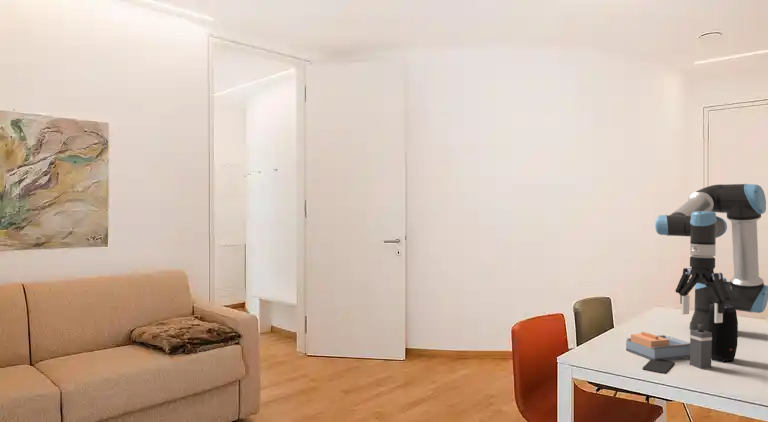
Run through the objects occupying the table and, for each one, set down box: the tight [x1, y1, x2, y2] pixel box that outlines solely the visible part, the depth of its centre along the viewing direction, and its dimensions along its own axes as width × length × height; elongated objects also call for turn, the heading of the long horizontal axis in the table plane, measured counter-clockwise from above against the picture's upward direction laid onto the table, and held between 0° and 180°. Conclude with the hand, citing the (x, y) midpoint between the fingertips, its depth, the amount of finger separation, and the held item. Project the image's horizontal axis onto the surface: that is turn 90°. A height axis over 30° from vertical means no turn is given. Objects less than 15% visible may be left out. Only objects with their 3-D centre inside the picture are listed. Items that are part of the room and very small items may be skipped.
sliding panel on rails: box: [625, 334, 690, 361], centre depth 202 cm, size 20×14×5 cm
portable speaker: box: [707, 304, 739, 363], centre depth 195 cm, size 9×9×20 cm
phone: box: [642, 359, 675, 375], centre depth 187 cm, size 7×1×15 cm
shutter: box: [630, 331, 669, 348], centre depth 201 cm, size 8×10×4 cm
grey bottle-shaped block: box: [689, 324, 712, 370], centre depth 187 cm, size 5×5×14 cm
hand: (701, 318), depth 187 cm, fingers open, 13 cm apart
